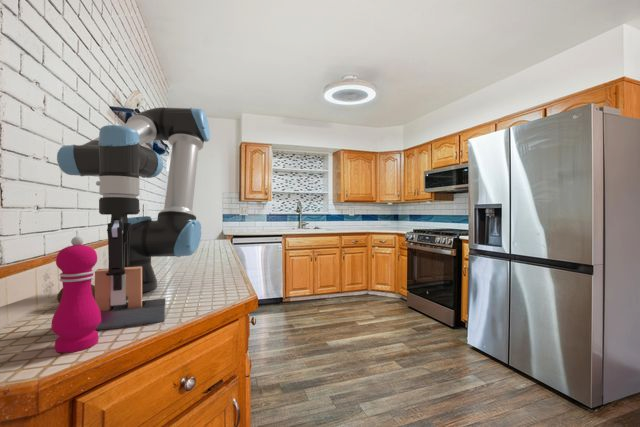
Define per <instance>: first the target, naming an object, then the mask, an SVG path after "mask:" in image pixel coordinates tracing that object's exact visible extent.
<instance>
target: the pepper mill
mask: <svg viewBox="0 0 640 427" xmlns="http://www.w3.org/2000/svg"><path fill="white" fill-rule="evenodd" d="M70 242H71V245H68V246H65V247H63V248H62V249H61V250H59V251H58V253H57V255H56V258H55V265H56V267H57V268H58V269H59V270H60V271H61V273H59V277H60V278H59V282H61V283H62V288H63V293H62V298H61V301H60V303H59V304H58V306H57V308H56V310H55V312H54V314H53V316H52V320H51V327H50V328H51V332H52V333H53V334H55V335H56V336H57V337H56V339H54V351H55V352H57V353H61V354H65V353H67V354H68V353H69V354H70V353H75V352H80V351H83V350H86V349H89V348H91V347H93V346H96V344H98V342H99V332H98V330H96V331H95V329H96V328H97V327H98V325H99V324H100V323H101V312H100V309H99V307H98V305H97V303H96V301H95V299H94V297H93V294H92V289H91V284H92V281H93V280H92V279H95V270H93V268H94V267H95V265H96V264H97V262H98V254H97V252H96V250H95V249H94V248H93V247H91V246H90V245H86V244H85V245H84V239H83V238H82V237H81V236H74V237H73V238H71V240H70Z"/></svg>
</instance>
